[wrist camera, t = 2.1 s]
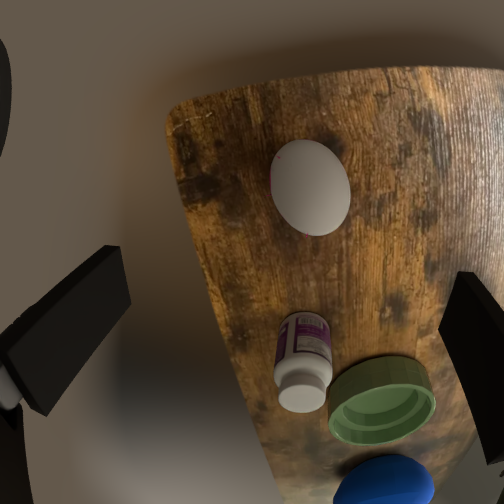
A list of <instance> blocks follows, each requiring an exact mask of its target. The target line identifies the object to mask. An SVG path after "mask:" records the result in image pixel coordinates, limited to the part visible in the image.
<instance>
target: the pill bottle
mask: <svg viewBox="0 0 504 504" xmlns="http://www.w3.org/2000/svg"><path fill="white" fill-rule="evenodd" d="M332 372H333V371H332V355H331V341H330V330H329V326H328V324H327V322H326V321H325V320H324V319H323V318H322V317H320V316H319V315H317V314H315V313H311V312H299V313H295V314H292V315H290V316H288V317H287V318H286V319H285V320H284V321H283V322H282V324H281V326H280V329H279V336H278V342H277V350H276V358H275V365H274V380H275V383H276V385H277V386H278V387H279V396H278V399H279V403H280V404H281V406H282V407H284V408H285V409H287V410H289V411H292V412H298V413H305V412H311V411H314V410H316V409H318V408H320V407H321V406H322V405H323V404H324V402H325V397H326V388H327V387H328V385H329V384H330V382H331V379H332Z"/></svg>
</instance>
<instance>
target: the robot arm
mask: <svg viewBox="0 0 504 504" xmlns="http://www.w3.org/2000/svg"><path fill="white" fill-rule="evenodd" d="M130 305H131V299H130V295H129V291H128V285H127V282H126V276H125V271H124V266H123V261H122V255H121V250H120V247H119V246H110V245H104V246H103V247H102V248H101V249H99V250H98V251H97V252H96V253H94V254H93V255H92V256H91V257H90V258H88V259H87V260H86V261H84V262H83V263H82V264H81V265H80V266H78V267H77V268H76V269H75V270H74V271H72V272H71V273H70V274H69V275H68V276H66V277H65V278H64V279H63V280H62V281H60V282H59V283H58V284H57V285H56V286H55V287H54V288H53V289H51V290H50V291H49V292H48V293H47V294H46V295H44V296H43V297H42V298H41V299H40V300H39V301H38V302H37V303H35V304H34V305H32V306H30V307H29V308H28V309H27V310H25V311H24V312H23V313H22V314H21V315H20V317H18V318H17V319H16V320H15V321H14V322H13V324H11V325H9V326H8V327H7V328H6V329H5V330H4V331H3V332H2V333H1V334H0V504H34V503H33V499H32V493H31V487H30V481H29V475H28V468H27V460H26V451H25V442H24V428H23V427H24V426H23V410H22V406H21V404H20V403H19V401H20V400H21V399H22V398H24V399H25V401H26V402H27V404H28V405H29V407H30V408H31V409H33V410H35V411H36V412H38V413H40V414H42V415H44V416H46V417H47V416H48V414H49V413H50V411H51V410H52V408H53V407H54V406H55V404H56V403H57V401H58V400H59V399H60V397H61V396H62V394H63V393H64V391H65V390H66V389H67V387H68V386H69V384H70V383H71V382H72V381H73V379H74V378H75V376H76V375H77V374H78V372H79V371H80V370H81V368H82V367H83V366H84V364H85V363H86V361H87V360H88V359H89V357H90V356H91V355H92V353H93V352H94V351H95V350H96V348H97V347H98V346H99V345H100V343H101V342H102V341H103V339H104V338H105V337H106V335H107V334H108V333H109V332H110V330H111V329H112V328H113V326H114V325H115V324H116V323H117V321H118V320H119V319H120V318H121V316H122V315H123V314H124V313H125V311H126V310H127V309H128V308H129V306H130ZM438 331H439V333H440V335H441V337H442V340H443V342H444V344H445V346H446V349H447V351H448V353H449V356H450V358H451V360H452V363H453V365H454V368H455V370H456V373H457V375H458V378H459V380H460V383H461V385H462V388H463V391H464V393H465V396H466V399H467V401H468V404H469V407H470V410H471V413H472V416H473V419H474V422H475V425H476V428H477V431H478V434H479V438H480V441H481V444H482V447H483V451H484V455H485V458H486V462H487V465H491V464H494V463H498V462H501V461H504V311H503V310H502V308H501V307H500V306H499V304H498V303H497V302H496V300H495V299H494V298H493V296H492V295H491V294H490V292H489V291H488V290H487V289H486V287H485V286H484V285H483V284H482V282H481V281H480V280H479V279H478V277H477V276H476V275H475V274H474V272H462V271H458V273H457V277H456V280H455V283H454V286H453V289H452V292H451V295H450V298H449V301H448V304H447V307H446V309H445V312H444V315H443V318H442V320H441V323H440V325H439V328H438ZM502 476H504V470H503V471H502V472H501V474H500V477H502ZM497 504H504V488H503V490H502V493H501V495H500V497H499V499H498V502H497Z"/></svg>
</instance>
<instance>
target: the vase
mask: <svg viewBox="0 0 504 504" xmlns="http://www.w3.org/2000/svg"><path fill="white" fill-rule="evenodd" d="M433 494H434V485H433V479H432V477H431V475H430V474H429V473H428V471H427V470H426V469H425V467H424V466H423V465H421V464H420V463H418V462H417V461H415V460H414V459H412V458H409V457H406V456H402V455H385V456H380V457H376V458H372V459H370V460H367V461H365V462H363V463H361V464H360V465H358V466H357V467H356V468H354V469H353V470H352V471H351V472H350V473H349V474H348V475H347V476H346V477H345V478H344V479H343V481H342V482H341V484H340V486H339V488H338V490H337V492H336V494H335V496H334V498H333V504H428V503H429V502H430V501H431V499H432V498H433Z"/></svg>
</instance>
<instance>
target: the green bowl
mask: <svg viewBox="0 0 504 504" xmlns="http://www.w3.org/2000/svg"><path fill="white" fill-rule="evenodd" d="M435 405H436V399H435V396H434V393H433V389H432V386H431V383H430V380H429V377H428V374H427V372H426V369H425V367H424V366H422V365H421V364H420V363H418V362H417V361H416V360H413V359H409V358H406V357H402V356H386V357H381V358H376V359H371V360H367V361H365V362H363V363H360V364H358V365H356V366H353V367H352V368H350V369H349V370H347V371H346V372H344V373H343V374H342V375H340V376H339V377H338V378H337V379H336V381H335V382H334V383H333V385H332V386H331V387H330V391H329V395H328V426H329V430H330V433H331V434H332V435H333V436H334V437H335V438H336V439H338V440H340V441H342V442H344V443H347V444H351V445H358V446H376V445H381V444H386V443H391V442H394V441H397V440H399V439H402V438H405V437H407V436H408V435H410V434H412V433H414V432H415V431H417V430H418V429H420V428H421V427H422V426H423V425H424V424H425V423H426V422H428V420H429V419H430V417H431V416H432V414H433V413H434V411H435Z"/></svg>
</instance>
